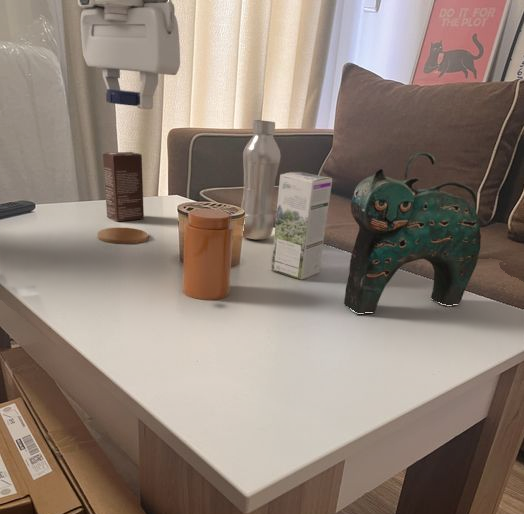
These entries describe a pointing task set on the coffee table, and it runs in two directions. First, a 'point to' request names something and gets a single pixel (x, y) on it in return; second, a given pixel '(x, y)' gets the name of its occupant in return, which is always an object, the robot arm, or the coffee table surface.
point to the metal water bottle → (260, 180)
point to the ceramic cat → (410, 237)
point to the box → (123, 185)
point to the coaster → (122, 235)
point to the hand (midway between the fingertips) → (129, 106)
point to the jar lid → (122, 97)
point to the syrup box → (300, 224)
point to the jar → (207, 254)
